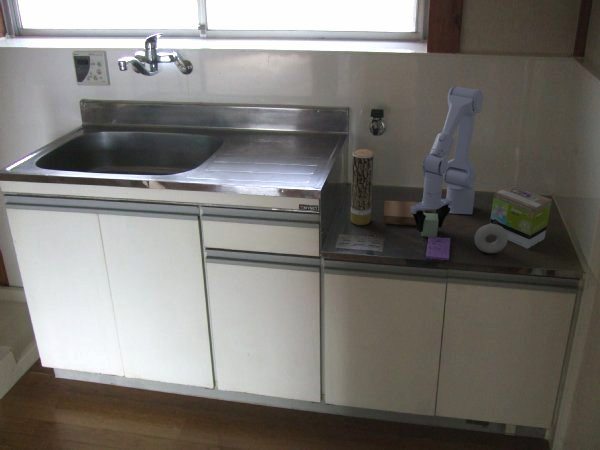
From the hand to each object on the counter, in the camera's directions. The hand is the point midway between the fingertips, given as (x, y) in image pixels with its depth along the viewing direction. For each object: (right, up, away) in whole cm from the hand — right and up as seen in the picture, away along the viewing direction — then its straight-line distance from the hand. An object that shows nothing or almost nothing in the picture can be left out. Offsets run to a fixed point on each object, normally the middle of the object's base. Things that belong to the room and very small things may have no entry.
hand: (429, 228), depth 210 cm
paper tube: (-22, +2, +9) cm, 24 cm away
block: (0, -1, +1) cm, 2 cm away
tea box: (+28, -3, -2) cm, 28 cm away
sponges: (+1, -7, -9) cm, 12 cm away
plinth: (-6, +4, +11) cm, 14 cm away
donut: (+16, -8, -11) cm, 21 cm away
